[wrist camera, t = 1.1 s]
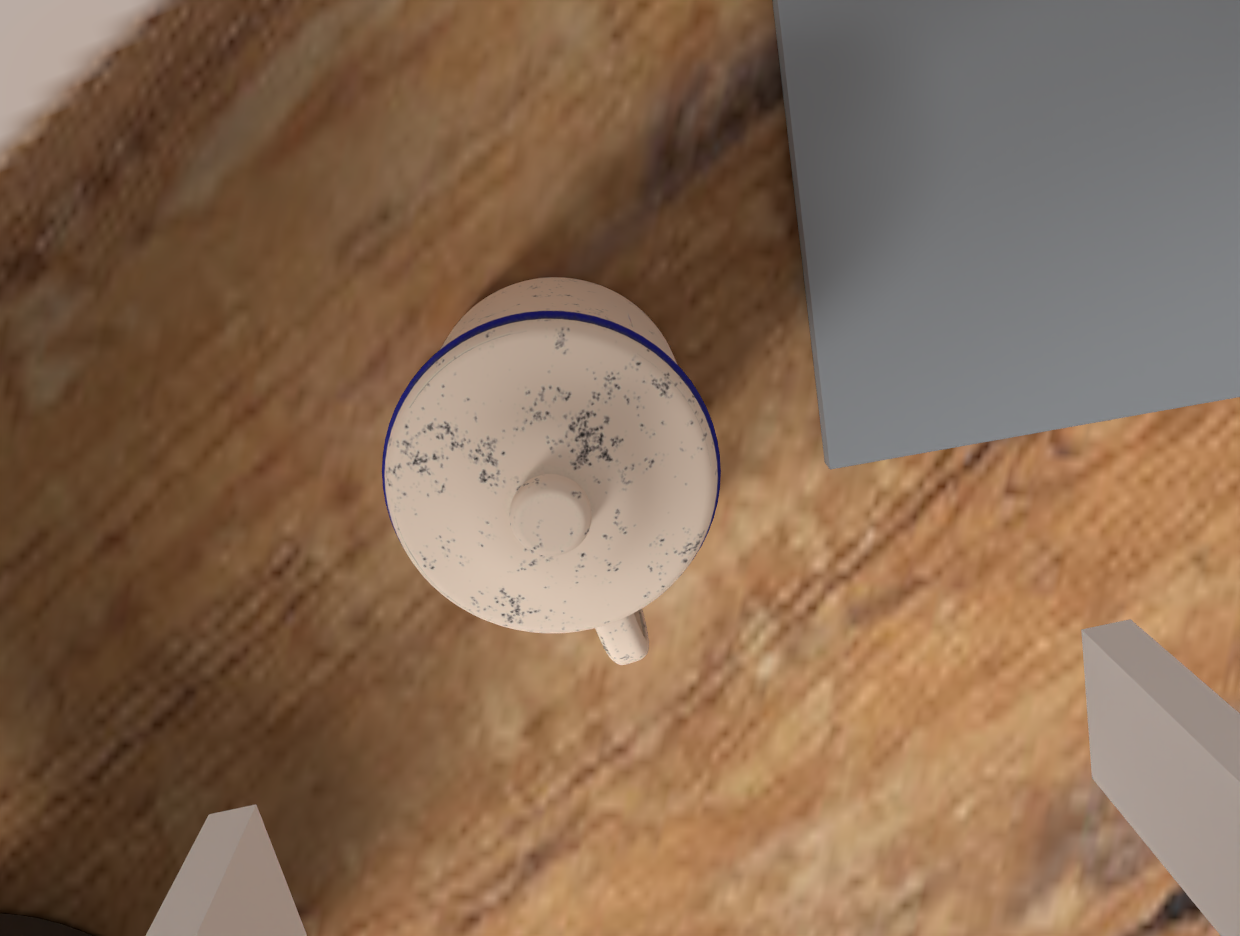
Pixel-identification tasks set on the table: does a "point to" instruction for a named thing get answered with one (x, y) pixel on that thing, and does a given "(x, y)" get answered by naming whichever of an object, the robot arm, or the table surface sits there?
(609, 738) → the table surface
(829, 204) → the slate mat
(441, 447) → the teacup with lid
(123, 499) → the table surface
